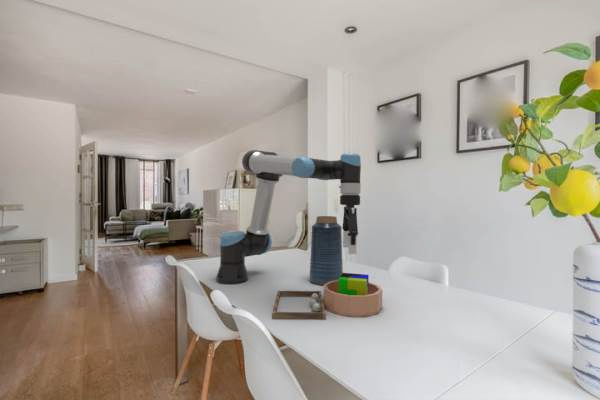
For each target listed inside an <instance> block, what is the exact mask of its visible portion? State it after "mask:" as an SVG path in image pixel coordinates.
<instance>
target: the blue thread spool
mask: <svg viewBox="0 0 600 400" xmlns="http://www.w3.org/2000/svg"><path fill="white" fill-rule="evenodd" d="M337 217H338V216H332V215H331V216H330V215H326V216H325V215H320V216H319V215H318V216H316V219H315V223H314V224H312V226H311V239H310V241H311V242H310V257H309V258H310V259H309V261H310V262H309V278H308V279H309V281H310V282H311V283H312V284H314V285H318V286H324V284H326V283H328V282H329V281H335V280H339V278H340V276H341V275H342V273H344V271H343V270H344V269H343V265H344V264H343V263H344V262H343V228H342V227H343V226H342V225H340V224H339V223H338V218H337Z"/></svg>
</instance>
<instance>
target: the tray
mask: <svg viewBox="0 0 600 400" xmlns="http://www.w3.org/2000/svg"><path fill="white" fill-rule="evenodd" d="M313 293H317V294H318V296H319V299H318V300H319V304H320V306H321V309H320V312H319V311H318V312H315V311H278V307H279V302H280V298H281V297H288V298H289V297H297V298H298V297H299V298H300V297H303V298H304V297H308V298H311V296H312V294H313ZM271 318H272V320H327V311H326V308H325V307H324V297H323V293H322V291H321V290H277V292H276V296H275V299H274V304H273V308H272V312H271Z"/></svg>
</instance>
